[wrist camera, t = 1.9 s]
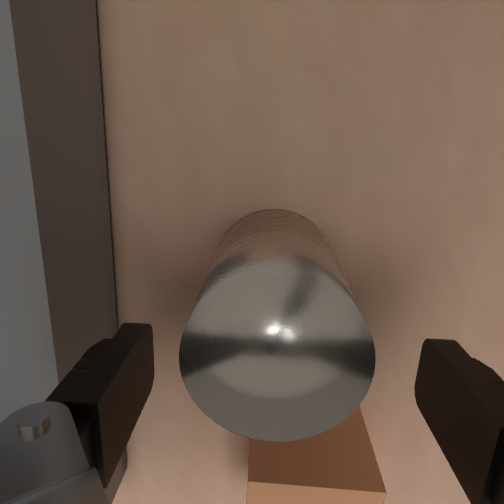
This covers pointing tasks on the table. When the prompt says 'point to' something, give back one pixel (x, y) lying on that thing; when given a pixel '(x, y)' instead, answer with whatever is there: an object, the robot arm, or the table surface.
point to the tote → (52, 201)
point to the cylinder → (276, 333)
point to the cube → (317, 468)
